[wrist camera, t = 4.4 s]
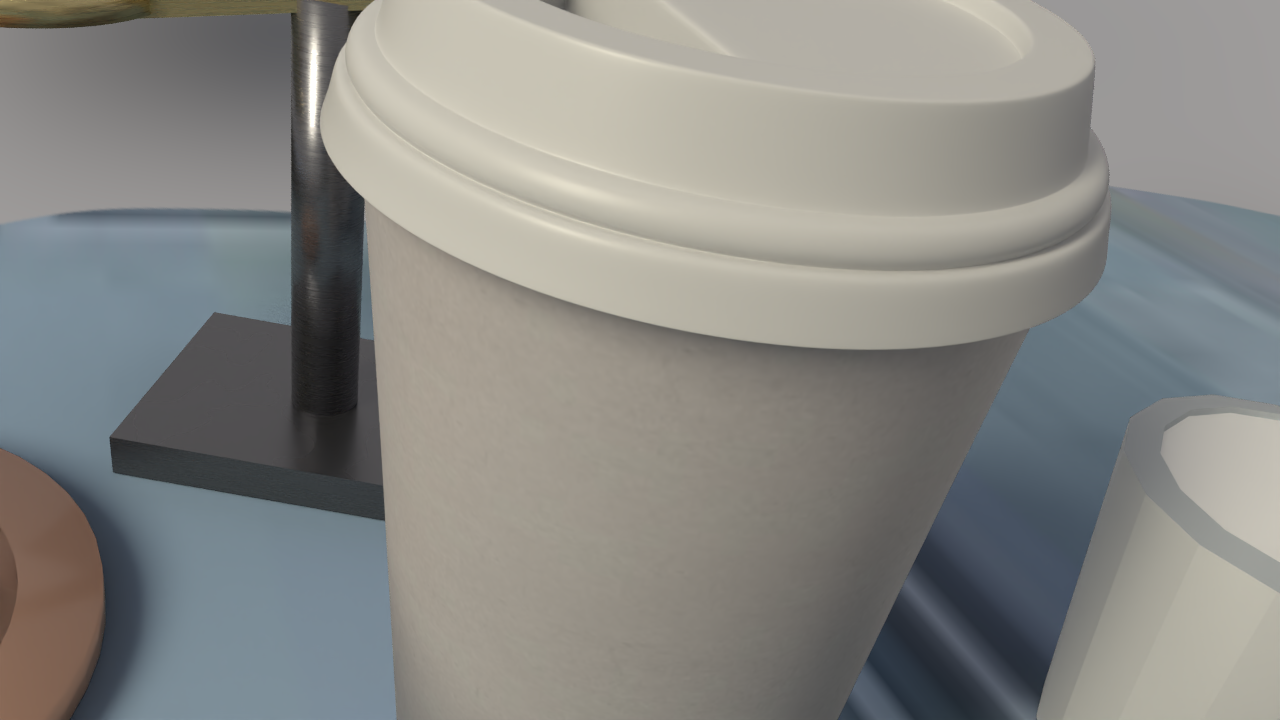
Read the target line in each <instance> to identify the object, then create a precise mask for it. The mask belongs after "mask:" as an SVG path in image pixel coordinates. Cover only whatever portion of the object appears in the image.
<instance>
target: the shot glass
mask: <svg viewBox="0 0 1280 720" xmlns="http://www.w3.org/2000/svg"><path fill="white" fill-rule="evenodd" d="M1036 717H1037V720H1280V406H1278V405H1273V404H1267V403H1261V402H1255V401H1249V400H1243V399H1236V398H1230V397H1224V396H1218V395H1203V396H1190V397H1177V398H1164V399H1161V400H1159V401H1157V402H1156V403H1154V404H1152V405H1151V406H1149V407H1147V408H1145V409H1144V410H1142V411H1140V412H1139V413H1137V414H1135V415H1133V416H1132V417H1130V420H1129V423H1128V426H1127V429H1126V433H1125V436H1124V439H1123V442H1122V445H1121V448H1120V451H1119V454H1118V457H1117V460H1116V463H1115V467H1114V470H1113V473H1112V476H1111V479H1110V482H1109V485H1108V488H1107V491H1106V494H1105V497H1104V501H1103V504H1102V507H1101V510H1100V513H1099V516H1098V519H1097V522H1096V525H1095V528H1094V531H1093V535H1092V538H1091V541H1090V544H1089V547H1088V550H1087V553H1086V556H1085V559H1084V562H1083V565H1082V569H1081V572H1080V575H1079V578H1078V581H1077V584H1076V587H1075V590H1074V593H1073V596H1072V599H1071V602H1070V606H1069V609H1068V612H1067V615H1066V618H1065V621H1064V624H1063V627H1062V630H1061V633H1060V636H1059V640H1058V643H1057V646H1056V649H1055V652H1054V655H1053V658H1052V661H1051V664H1050V667H1049V670H1048V674H1047V677H1046V680H1045V683H1044V687H1043V691H1042V695H1041V699H1040V703H1039V707H1038V711H1037V715H1036Z"/></svg>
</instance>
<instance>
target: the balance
mask: <svg viewBox="0 0 1280 720" xmlns="http://www.w3.org/2000/svg"><path fill="white" fill-rule="evenodd" d="M373 1H374V0H0V27H6V28H74V27H85V26H97V25H105V24H113V23H118V22H124V21H129V20H134V19H138V18H165V17H192V16H217V15H218V16H220V15H246V14H273V13H274V14H275V13H291V326H288V325H283V324H277V323H271V322H266V321H260V320H255V319H249V318H243V317H238V316H232V315H226V314H221V313H215V312H214V313H213V315H212V316H211V317H210V318H209V319H208V320H207V322H206V323H205V324H204V325H203V326H202V328H201V329H200V330H199V331H198V332H197V334H196V335H195V336H194V337H193V338H192V340H191V341H190V342H189V343H188V344H187V345H186V347H185V348H184V349H183V350H182V351H181V353H180V354H179V355H178V356H177V357H176V359H175V360H174V361H173V362H172V363H171V365H170V366H169V367H168V368H167V369H166V370H165V372H164V373H163V374H162V375H161V376H160V378H159V379H158V380H157V381H156V382H155V384H154V385H153V386H152V387H151V388H150V390H149V391H148V392H147V393H146V394H145V395H144V397H143V398H142V399H141V400H140V401H139V403H138V404H137V405H136V406H135V407H134V409H133V410H132V411H131V412H130V413H129V415H128V416H127V417H126V418H125V419H124V420H123V422H122V423H121V424H120V425H119V426H118V428H117V429H116V430H115V431H114V432H113V434H112V435H111V436H110V447H111V457H112V467H113V472H115V473H121V474H126V475H132V476H138V477H143V478H149V479H155V480H160V481H166V482H172V483H177V484H183V485H189V486H194V487H200V488H206V489H211V490H217V491H223V492H228V493H234V494H240V495H245V496H251V497H257V498H262V499H268V500H274V501H279V502H285V503H291V504H296V505H302V506H308V507H313V508H319V509H325V510H330V511H336V512H342V513H347V514H353V515H359V516H364V517H370V518H376V519H381V520H385V506H384V489H383V473H382V456H381V439H380V423H379V407H378V391H377V375H376V359H375V344H374V341H373V340H367V339H362V338H360V322H361V293H362V264H363V235H364V206H365V200H364V198H363V197H362V196H361V195H360V194H359V193H358V192H357V191H356V190H355V189H354V188H353V187H352V186H351V185H350V184H349V183H348V182H347V181H346V179H345V178H344V177H343V176H342V175H341V173H340V172H339V171H338V169H337V168H336V166H335V165H334V163H333V162H332V160H331V158H330V157H329V155H328V153H327V151H326V148H325V146H324V143H323V140H322V136H321V131H320V114H321V109H322V105H323V102H324V99H325V96H326V94H327V91H328V88H329V84H330V80H331V76H332V73H333V69H334V65H335V62H336V60H337V57H338V55H339V53H340V51H341V49H342V48H343V46H344V45H345V43H346V42H347V38H348V35H349V32H350V30H351V27H352V25H353V24H354V22H355V20H356V19H357V17H358V16H359V15H360V13H361V12H362V11H363V10H364V9H365V8H366V7H367V6H368V5H369V4H370V3H372V2H373Z"/></svg>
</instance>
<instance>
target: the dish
mask: <svg viewBox="0 0 1280 720" xmlns="http://www.w3.org/2000/svg"><path fill="white" fill-rule="evenodd" d="M105 624H106V610H105V587H104V578H103V569H102V562H101V558H100V554H99V549H98V545H97V541H96V537H95V535H94V533H93V531H92V529H91V527H90V525H89V523H88V521H87V519H86V517H85V515H84V513H83V512H82V511H81V509H80V508H79V507H78V505H77V504H76V503H75V501H74V500H73V499H72V498H71V496H70V495H69V494H68V493H67V492H66V491H65V490H64V489H63V488H62V487H61V486H60V485H58V484H57V483H56V482H55V481H54V480H53V479H52V478H51V477H49V476H48V475H47V474H46V473H44V472H43V471H41V470H40V469H38V468H36V467H35V466H33V465H32V464H30V463H29V462H27V461H25V460H24V459H22V458H21V457H18V456H16V455H14V454H12V453H10V452H8V451H5V450H3V449H1V448H0V720H70V718H71V717H72V715H73V713H74V711H75V709H76V708H77V706H78V704H79V702H80V701H81V699H82V697H83V695H84V693H85V692H86V690H87V688H88V685H89V682H90V680H91V677H92V674H93V672H94V669H95V666H96V664H97V661H98V658H99V656H100V651H101V646H102V640H103V635H104V630H105Z"/></svg>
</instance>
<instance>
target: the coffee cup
mask: <svg viewBox="0 0 1280 720" xmlns="http://www.w3.org/2000/svg"><path fill="white" fill-rule="evenodd" d="M1094 78H1095V57H1094V53H1093V51H1092V49H1091V47H1090V45H1089V44H1088V42H1087V41H1086V40H1085V39H1084V37H1083V36H1082V35H1081V34H1080V33H1079V32H1078V31H1077V30H1075V29H1074V28H1073V27H1072V26H1071V25H1069V24H1068V23H1067V22H1065V21H1064V20H1063V19H1061V18H1060V17H1058V16H1057V15H1055V14H1054V13H1052V12H1050V11H1049V10H1047V9H1046V8H1044V7H1042V6H1040V5H1038V4H1036V3H1035V2H1033V1H1031V0H374V1H373V2H372V3H370V4H369V5H368V6H367V7H366V8H365V9H364V10H363V11H362V12H361V13H360V15H359V16H358V17H357V19H356V20H355V22H354V24H353V25H352V27H351V30H350V32H349V35H348V38H347V42H346V43H345V45H344V46H343V48H342V49H341V51H340V53H339V55H338V57H337V60H336V62H335V65H334V69H333V73H332V76H331V80H330V84H329V88H328V91H327V94H326V96H325V99H324V102H323V105H322V109H321V114H320V131H321V136H322V140H323V143H324V146H325V148H326V151H327V153H328V155H329V157H330V158H331V160H332V162H333V163H334V165H335V166H336V168H337V169H338V171H339V172H340V173H341V175H342V176H343V177H344V178H345V179H346V181H347V182H348V183H349V184H350V185H351V186H352V187H353V188H354V189H355V190H356V191H357V192H358V193H359V194H360V195H361V196H362V197H363V198H364V200H365V213H366V226H367V240H368V255H369V269H370V283H371V298H372V313H373V328H374V344H375V359H376V375H377V391H378V407H379V423H380V439H381V456H382V473H383V489H384V506H385V523H386V541H387V558H388V575H389V592H390V610H391V627H392V645H393V662H394V680H395V697H396V715H397V720H838V718H839V716H840V714H841V711H842V709H843V707H844V705H845V703H846V701H847V699H848V697H849V695H850V693H851V691H852V689H853V687H854V685H855V683H856V681H857V678H858V676H859V674H860V672H861V670H862V668H863V666H864V664H865V662H866V660H867V658H868V656H869V654H870V652H871V650H872V648H873V645H874V643H875V641H876V639H877V637H878V635H879V633H880V631H881V629H882V627H883V625H884V623H885V621H886V619H887V617H888V615H889V613H890V610H891V608H892V606H893V604H894V602H895V600H896V598H897V596H898V594H899V592H900V590H901V588H902V586H903V584H904V582H905V580H906V578H907V576H908V573H909V571H910V569H911V567H912V565H913V563H914V561H915V559H916V557H917V555H918V553H919V551H920V549H921V547H922V545H923V543H924V541H925V539H926V537H927V535H928V533H929V530H930V528H931V526H932V524H933V522H934V520H935V518H936V516H937V514H938V512H939V510H940V508H941V506H942V504H943V502H944V500H945V498H946V496H947V494H948V492H949V490H950V488H951V486H952V484H953V482H954V480H955V478H956V475H957V473H958V471H959V469H960V467H961V465H962V463H963V461H964V459H965V457H966V455H967V453H968V451H969V449H970V447H971V445H972V443H973V441H974V439H975V437H976V435H977V433H978V431H979V429H980V427H981V425H982V423H983V421H984V419H985V417H986V415H987V413H988V411H989V409H990V407H991V405H992V403H993V401H994V399H995V397H996V395H997V393H998V391H999V389H1000V387H1001V385H1002V383H1003V381H1004V379H1005V377H1006V375H1007V373H1008V371H1009V369H1010V367H1011V365H1012V363H1013V361H1014V359H1015V357H1016V355H1017V353H1018V351H1019V349H1020V347H1021V345H1022V343H1023V341H1024V339H1025V337H1026V335H1027V333H1028V331H1029V329H1030V328H1032V327H1035V326H1037V325H1040V324H1042V323H1045V322H1047V321H1049V320H1051V319H1054V318H1056V317H1058V316H1059V315H1061V314H1063V313H1065V312H1066V311H1068V310H1070V309H1071V308H1073V307H1074V306H1075V305H1077V304H1078V303H1080V302H1081V301H1082V300H1083V299H1084V298H1085V297H1086V296H1087V295H1088V294H1089V293H1090V292H1091V291H1092V290H1093V289H1094V287H1095V286H1096V285H1097V283H1098V282H1099V280H1100V278H1101V276H1102V274H1103V271H1104V268H1105V265H1106V259H1107V249H1108V237H1109V228H1110V220H1111V196H1110V192H1109V188H1108V187H1109V165H1108V161H1107V156H1106V154H1105V151H1104V148H1103V146H1102V144H1101V142H1100V140H1099V139H1098V137H1097V136H1096V134H1095V133H1094V132H1093V130H1092V129H1091V127H1090V124H1091V113H1092V102H1093V90H1094Z"/></svg>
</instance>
